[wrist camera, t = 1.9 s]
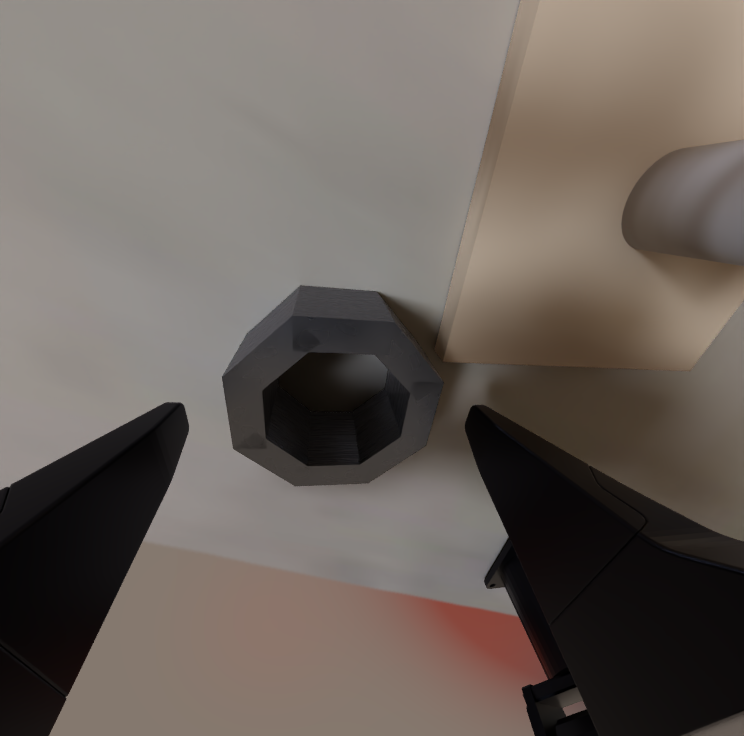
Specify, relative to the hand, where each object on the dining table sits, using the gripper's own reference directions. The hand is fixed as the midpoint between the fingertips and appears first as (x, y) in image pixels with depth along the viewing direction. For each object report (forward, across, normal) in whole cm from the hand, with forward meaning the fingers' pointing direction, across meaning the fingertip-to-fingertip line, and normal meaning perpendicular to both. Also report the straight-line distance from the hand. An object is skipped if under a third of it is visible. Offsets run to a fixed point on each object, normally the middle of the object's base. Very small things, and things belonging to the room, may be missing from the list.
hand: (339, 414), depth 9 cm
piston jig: (+3, -10, -7) cm, 13 cm away
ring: (+3, 0, 0) cm, 3 cm away
